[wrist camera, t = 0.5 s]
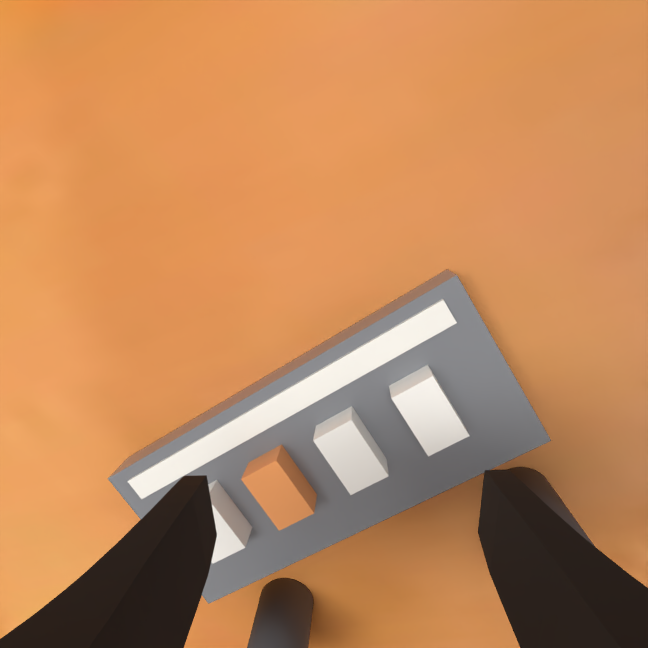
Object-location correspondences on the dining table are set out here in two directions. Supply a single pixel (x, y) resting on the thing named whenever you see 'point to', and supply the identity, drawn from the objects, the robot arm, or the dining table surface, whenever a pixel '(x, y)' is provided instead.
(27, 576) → the dining table surface
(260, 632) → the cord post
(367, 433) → the breaker panel
